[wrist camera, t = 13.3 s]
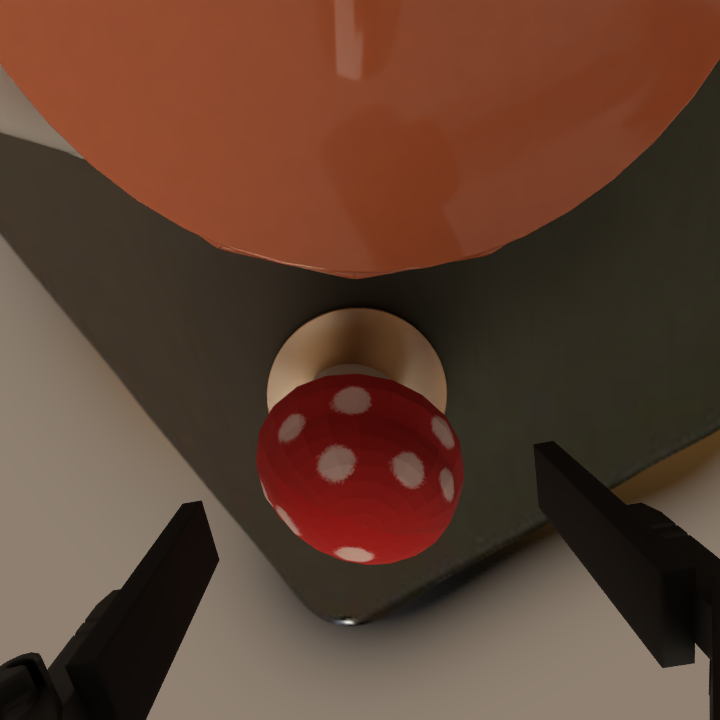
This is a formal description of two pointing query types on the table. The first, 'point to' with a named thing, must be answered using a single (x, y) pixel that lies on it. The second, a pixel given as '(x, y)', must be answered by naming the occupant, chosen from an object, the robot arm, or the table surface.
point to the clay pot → (360, 113)
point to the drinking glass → (26, 118)
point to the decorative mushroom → (360, 466)
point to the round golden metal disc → (358, 353)
